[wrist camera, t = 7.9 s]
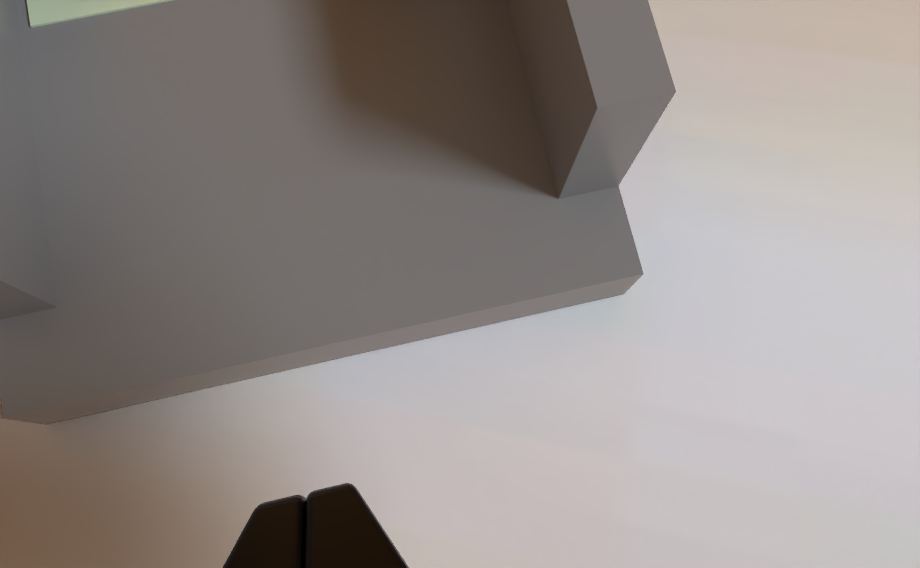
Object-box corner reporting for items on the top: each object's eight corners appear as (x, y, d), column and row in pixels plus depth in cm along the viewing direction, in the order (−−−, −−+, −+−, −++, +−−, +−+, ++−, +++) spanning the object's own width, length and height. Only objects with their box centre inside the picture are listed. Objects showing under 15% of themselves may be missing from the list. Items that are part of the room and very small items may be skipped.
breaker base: (623, 294, 15) (710, 205, 10) (45, 424, 15) (-150, 394, 10) (495, -165, 17) (518, -417, 12) (-18, -71, 17) (-207, -302, 12)
